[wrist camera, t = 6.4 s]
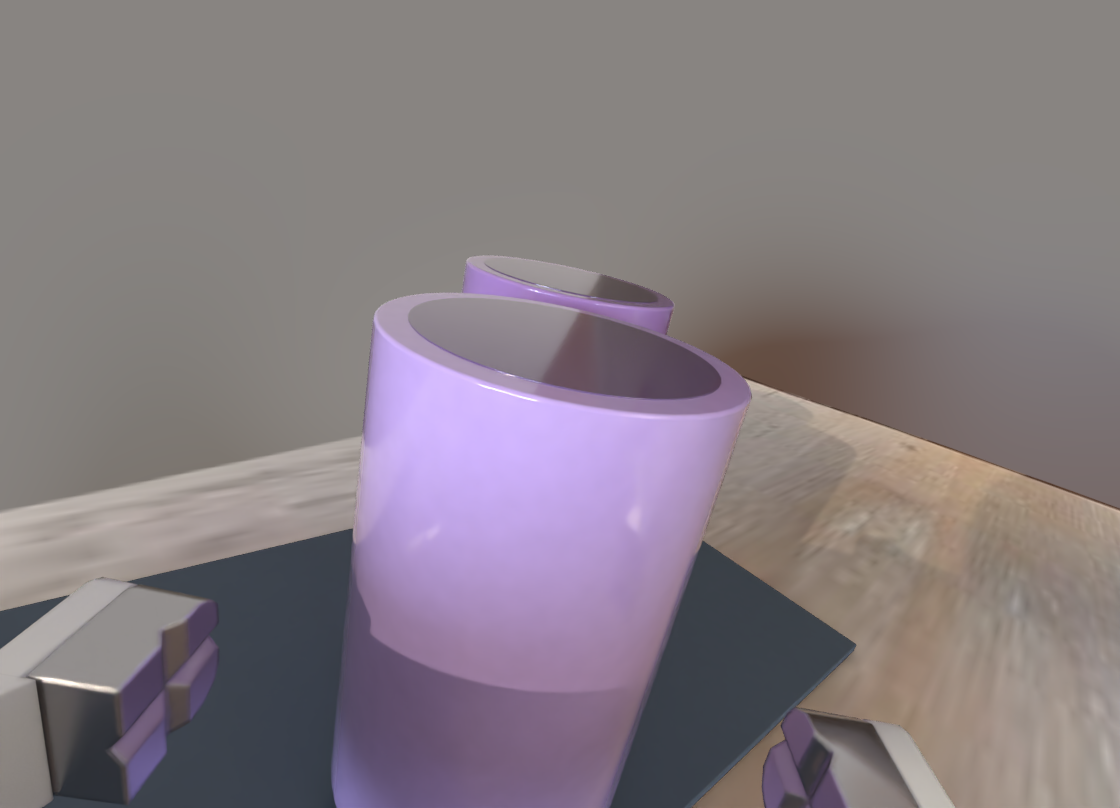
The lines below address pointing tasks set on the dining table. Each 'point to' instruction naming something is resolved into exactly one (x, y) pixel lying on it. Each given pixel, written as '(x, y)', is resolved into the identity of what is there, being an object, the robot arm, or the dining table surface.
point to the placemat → (314, 666)
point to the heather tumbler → (568, 289)
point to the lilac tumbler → (518, 548)
